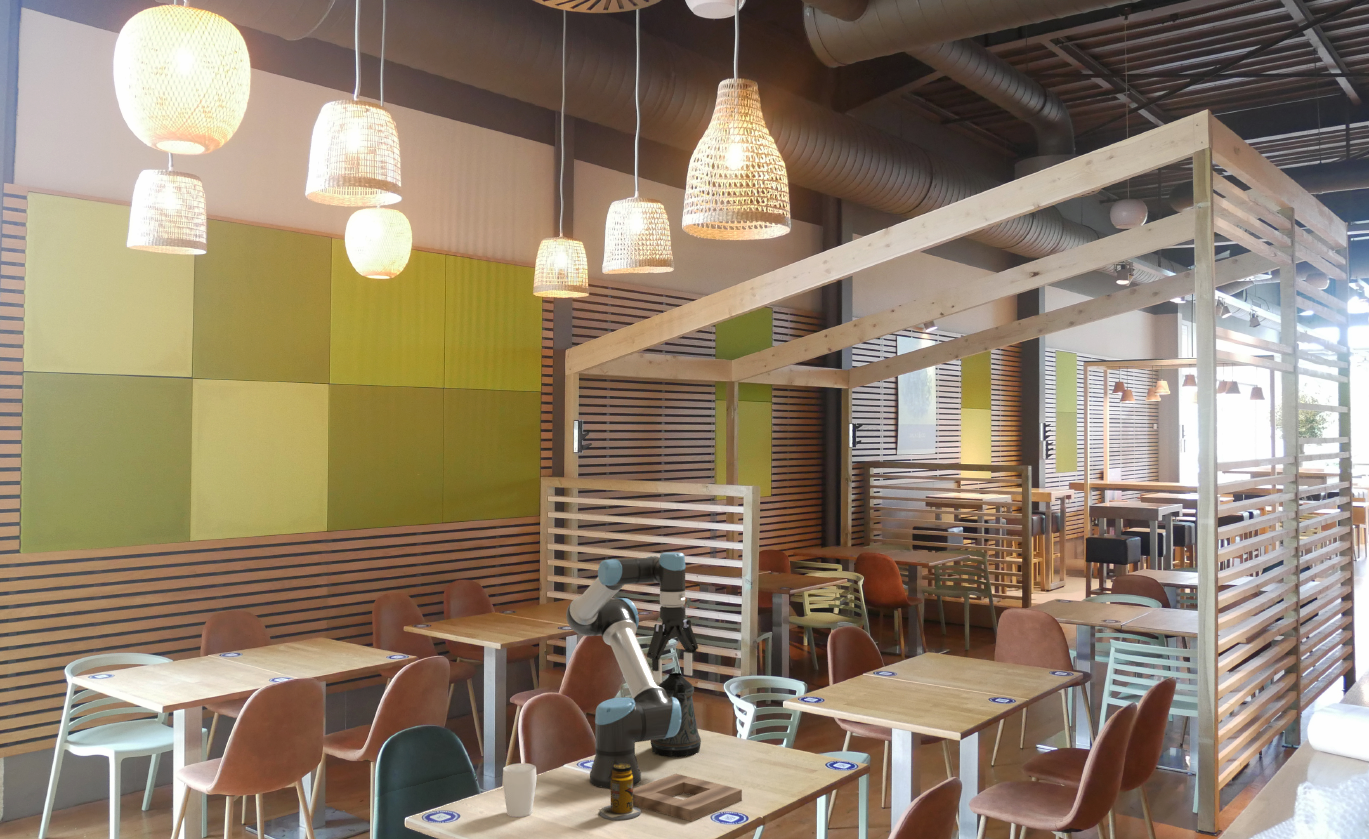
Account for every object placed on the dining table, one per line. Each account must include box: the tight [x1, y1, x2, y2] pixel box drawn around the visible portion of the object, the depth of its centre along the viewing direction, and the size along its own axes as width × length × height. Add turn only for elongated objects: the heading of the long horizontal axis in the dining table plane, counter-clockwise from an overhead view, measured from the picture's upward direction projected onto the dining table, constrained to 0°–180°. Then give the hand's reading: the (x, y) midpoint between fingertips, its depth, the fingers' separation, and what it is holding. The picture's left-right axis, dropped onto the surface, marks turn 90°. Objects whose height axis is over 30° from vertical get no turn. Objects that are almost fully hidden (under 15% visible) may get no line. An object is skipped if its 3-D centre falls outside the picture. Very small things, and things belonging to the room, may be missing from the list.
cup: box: [502, 762, 538, 818], centre depth 275 cm, size 9×9×12 cm
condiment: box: [598, 763, 639, 818], centre depth 274 cm, size 7×8×12 cm
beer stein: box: [650, 672, 702, 758], centre depth 335 cm, size 16×19×25 cm
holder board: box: [633, 773, 743, 822], centre depth 283 cm, size 24×22×3 cm
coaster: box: [598, 804, 642, 821], centre depth 274 cm, size 11×11×1 cm
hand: (673, 678), depth 300 cm, fingers open, 13 cm apart
